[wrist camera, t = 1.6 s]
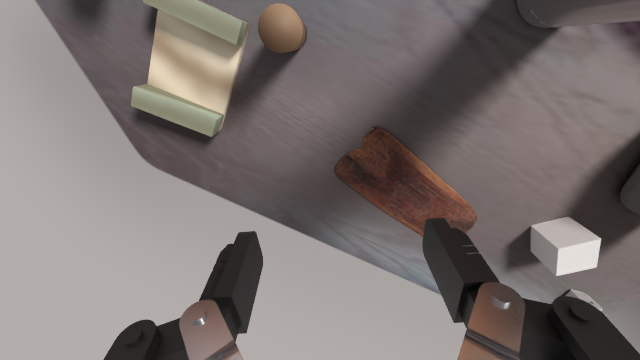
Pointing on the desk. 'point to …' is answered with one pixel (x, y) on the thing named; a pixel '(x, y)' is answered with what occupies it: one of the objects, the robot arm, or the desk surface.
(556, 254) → the white cube
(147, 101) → the cradle
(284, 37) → the rounded wooden peg
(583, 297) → the usb wall charger
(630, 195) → the grey rounded block
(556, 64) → the desk surface
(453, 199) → the wooden tablet
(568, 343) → the robot arm
